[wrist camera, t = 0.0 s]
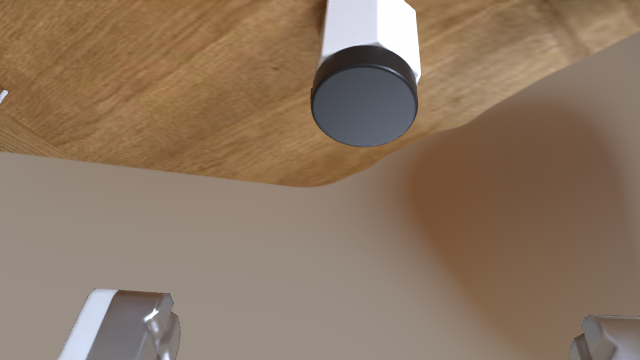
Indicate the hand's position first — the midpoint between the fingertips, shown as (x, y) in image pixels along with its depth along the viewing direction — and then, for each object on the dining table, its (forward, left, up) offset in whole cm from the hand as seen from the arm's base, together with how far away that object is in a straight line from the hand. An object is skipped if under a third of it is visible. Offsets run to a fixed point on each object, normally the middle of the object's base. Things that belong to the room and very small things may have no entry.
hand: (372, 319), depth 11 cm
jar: (+17, 0, -39) cm, 43 cm away
